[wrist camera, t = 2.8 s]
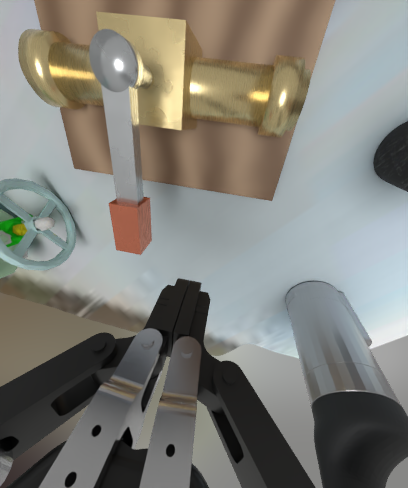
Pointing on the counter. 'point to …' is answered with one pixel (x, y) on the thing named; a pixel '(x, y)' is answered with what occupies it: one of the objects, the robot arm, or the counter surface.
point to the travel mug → (394, 158)
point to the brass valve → (170, 77)
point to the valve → (30, 229)
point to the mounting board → (206, 132)
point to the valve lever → (123, 136)
